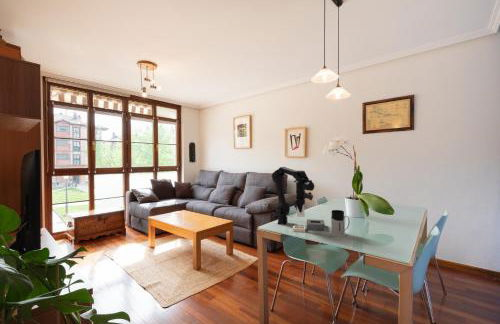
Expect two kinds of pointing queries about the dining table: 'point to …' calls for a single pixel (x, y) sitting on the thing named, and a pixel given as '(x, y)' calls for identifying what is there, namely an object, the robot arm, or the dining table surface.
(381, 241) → the dining table surface
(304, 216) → the plug
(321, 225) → the port
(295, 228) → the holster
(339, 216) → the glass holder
